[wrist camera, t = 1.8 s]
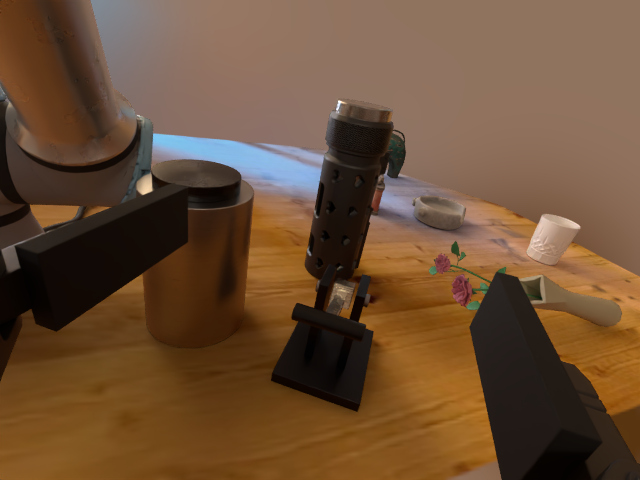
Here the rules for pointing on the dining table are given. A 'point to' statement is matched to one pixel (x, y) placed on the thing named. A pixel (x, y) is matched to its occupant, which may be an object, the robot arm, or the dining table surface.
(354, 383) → the switch base
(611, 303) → the flower vase
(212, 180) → the metal tumbler
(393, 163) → the ceramic cat
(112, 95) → the robot arm
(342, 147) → the muzzle brake
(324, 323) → the switch lever
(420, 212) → the dish
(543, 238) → the white cup
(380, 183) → the lighter
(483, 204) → the dining table surface
